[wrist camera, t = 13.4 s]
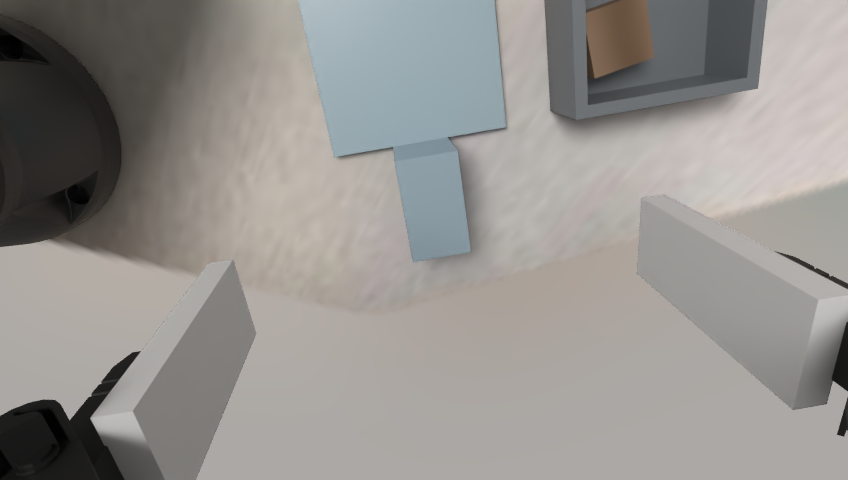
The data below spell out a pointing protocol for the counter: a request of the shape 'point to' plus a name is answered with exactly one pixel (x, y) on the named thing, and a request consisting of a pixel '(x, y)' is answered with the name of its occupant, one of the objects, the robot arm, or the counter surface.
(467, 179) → the counter surface
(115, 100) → the counter surface
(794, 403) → the robot arm
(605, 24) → the walnut block
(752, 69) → the tub
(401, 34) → the lid
